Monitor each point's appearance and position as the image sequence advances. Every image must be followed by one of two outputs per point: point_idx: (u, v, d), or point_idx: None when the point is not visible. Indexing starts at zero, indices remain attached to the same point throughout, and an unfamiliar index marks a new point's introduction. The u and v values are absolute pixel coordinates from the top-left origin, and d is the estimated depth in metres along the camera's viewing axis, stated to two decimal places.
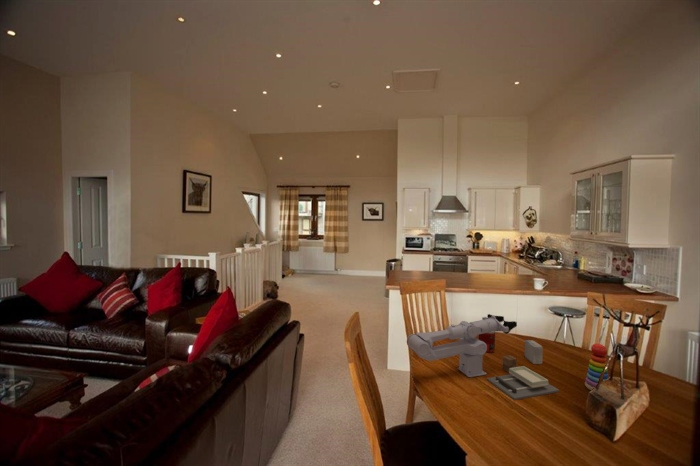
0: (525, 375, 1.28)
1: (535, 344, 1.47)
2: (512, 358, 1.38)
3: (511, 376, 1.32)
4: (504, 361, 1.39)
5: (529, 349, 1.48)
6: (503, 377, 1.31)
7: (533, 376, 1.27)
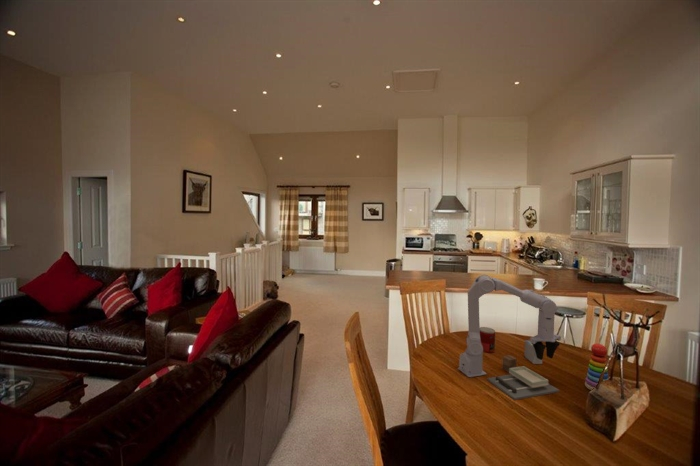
0: (525, 375, 1.28)
1: None
2: (512, 358, 1.38)
3: (511, 376, 1.32)
4: (504, 361, 1.39)
5: (529, 349, 1.48)
6: (503, 377, 1.31)
7: (533, 376, 1.27)
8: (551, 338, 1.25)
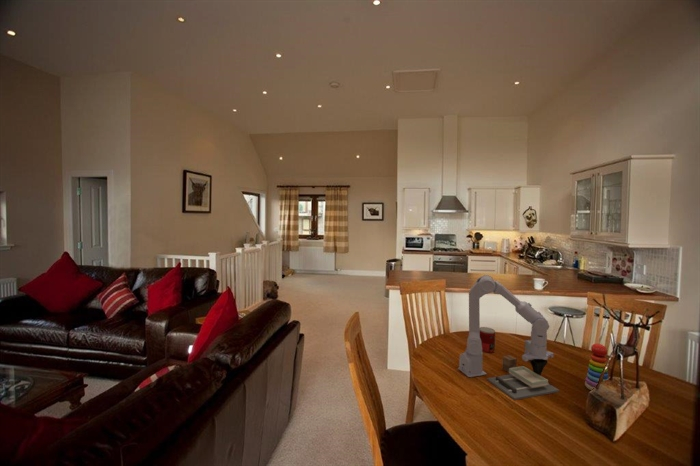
0: (525, 375, 1.28)
1: None
2: (512, 358, 1.38)
3: (511, 376, 1.32)
4: (504, 361, 1.39)
5: (529, 349, 1.48)
6: (503, 377, 1.31)
7: (533, 376, 1.27)
8: (543, 356, 1.25)
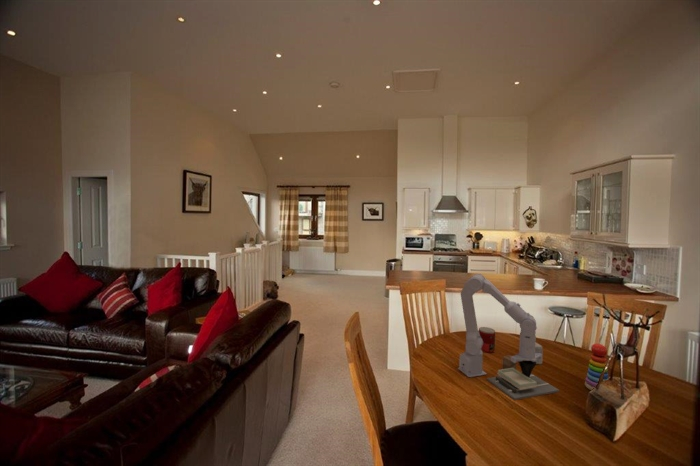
0: (513, 377, 1.26)
1: (535, 344, 1.47)
2: None
3: None
4: (504, 361, 1.39)
5: None
6: None
7: (521, 378, 1.25)
8: (532, 357, 1.23)
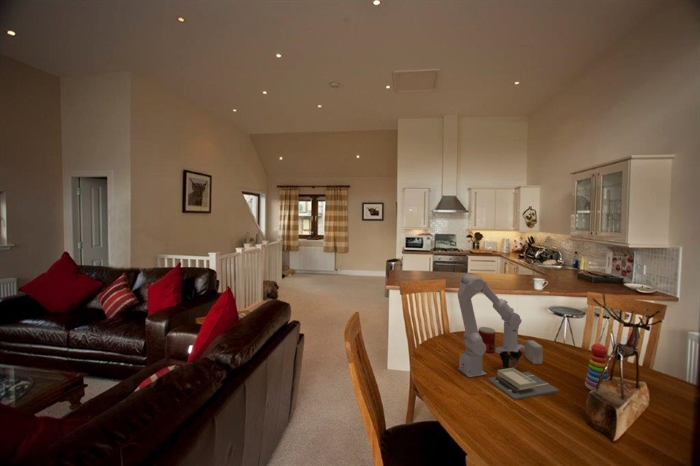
0: (513, 377, 1.26)
1: (535, 344, 1.47)
2: (512, 358, 1.38)
3: None
4: None
5: (529, 349, 1.48)
6: None
7: (521, 378, 1.25)
8: (514, 348, 1.36)
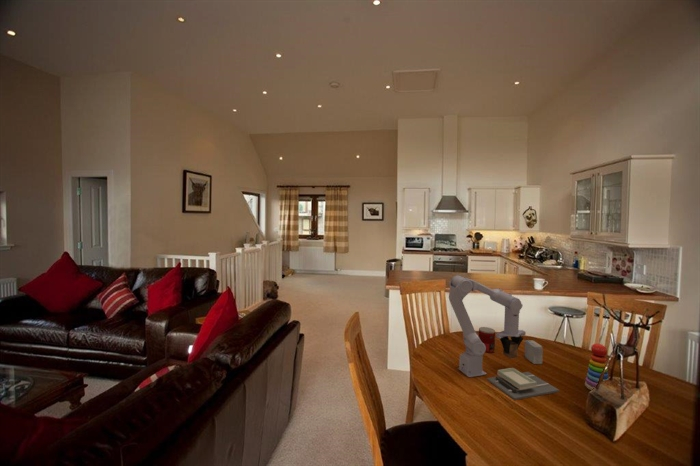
0: (513, 377, 1.26)
1: (535, 344, 1.47)
2: (513, 343, 1.36)
3: None
4: None
5: (529, 349, 1.48)
6: None
7: (521, 378, 1.25)
8: (515, 333, 1.34)
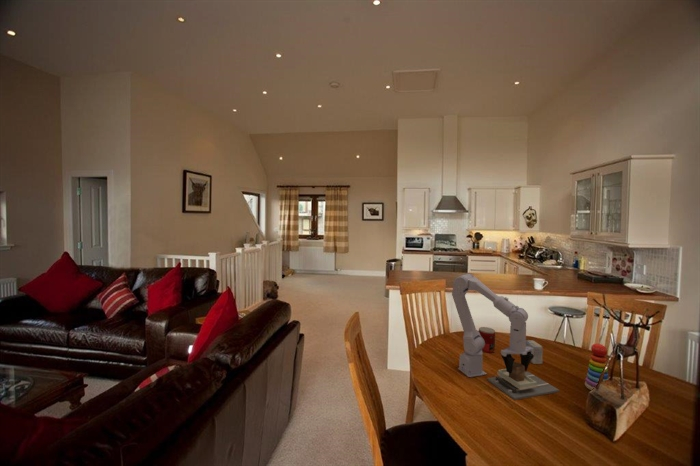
0: None
1: (535, 344, 1.47)
2: (519, 365, 1.24)
3: None
4: None
5: None
6: None
7: None
8: (522, 351, 1.22)
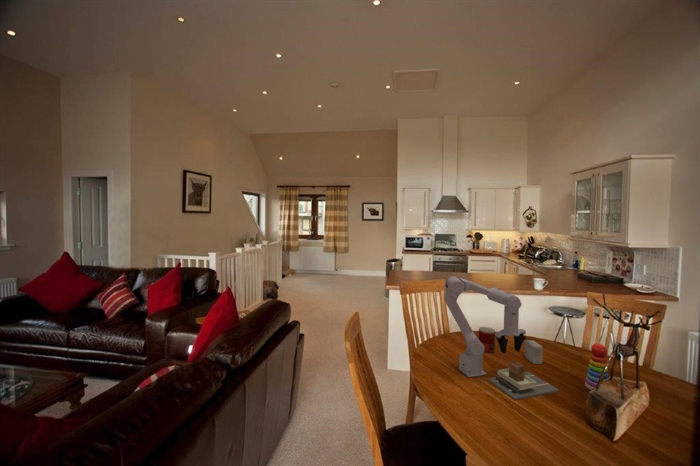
0: None
1: (535, 344, 1.47)
2: (519, 365, 1.24)
3: None
4: (510, 368, 1.25)
5: (529, 349, 1.48)
6: None
7: None
8: (515, 332, 1.31)
